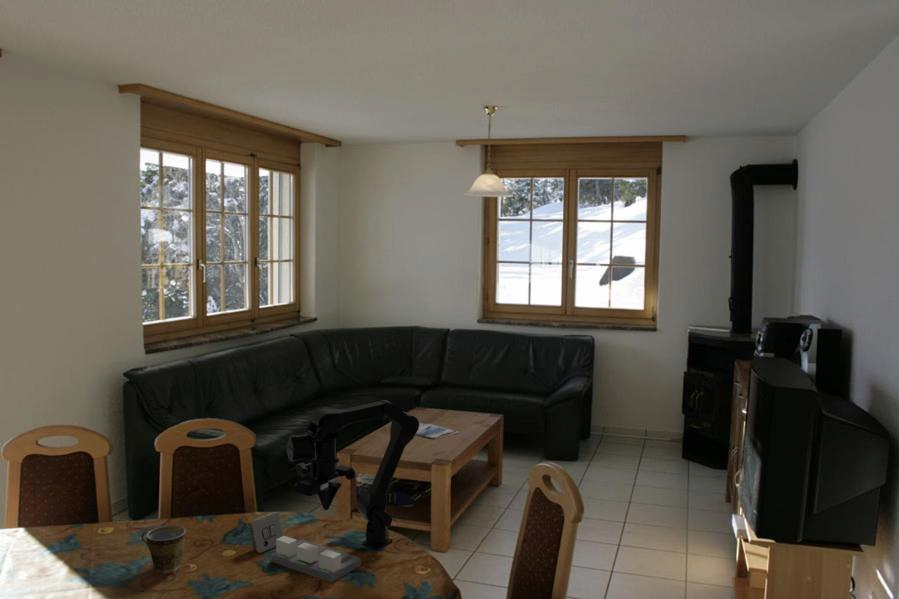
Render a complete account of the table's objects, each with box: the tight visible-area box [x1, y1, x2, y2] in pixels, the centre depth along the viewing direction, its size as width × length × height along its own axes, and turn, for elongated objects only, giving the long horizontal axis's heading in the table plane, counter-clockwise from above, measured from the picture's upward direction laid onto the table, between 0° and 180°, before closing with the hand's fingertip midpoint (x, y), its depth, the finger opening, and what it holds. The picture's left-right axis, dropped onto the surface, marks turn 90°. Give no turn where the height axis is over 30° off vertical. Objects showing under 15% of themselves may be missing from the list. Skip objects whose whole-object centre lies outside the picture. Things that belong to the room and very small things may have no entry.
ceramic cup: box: [141, 525, 187, 575], centre depth 205 cm, size 13×10×10 cm
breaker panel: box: [270, 535, 362, 583], centre depth 208 cm, size 12×22×6 cm, turn 56°
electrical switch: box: [248, 511, 285, 554], centre depth 219 cm, size 9×5×9 cm, turn 141°
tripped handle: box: [297, 543, 319, 563], centre depth 206 cm, size 3×5×4 cm, turn 56°
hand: (326, 509), depth 213 cm, fingers closed
